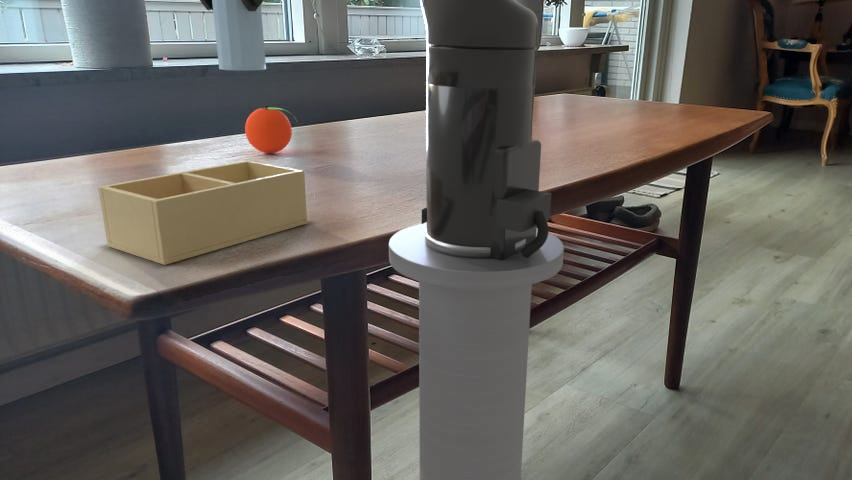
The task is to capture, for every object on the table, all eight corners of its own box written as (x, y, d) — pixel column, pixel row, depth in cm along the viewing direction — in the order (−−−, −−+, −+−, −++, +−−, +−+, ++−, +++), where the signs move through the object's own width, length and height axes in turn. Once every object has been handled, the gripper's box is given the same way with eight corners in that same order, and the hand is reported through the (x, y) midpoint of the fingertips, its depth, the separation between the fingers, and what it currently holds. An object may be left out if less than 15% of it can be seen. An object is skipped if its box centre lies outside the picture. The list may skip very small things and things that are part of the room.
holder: (307, 223, 71) (304, 170, 69) (164, 265, 58) (155, 201, 56) (252, 210, 75) (248, 160, 73) (107, 246, 62) (97, 186, 60)
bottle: (275, 69, 85) (265, -61, 80) (238, 70, 80) (225, -67, 76) (246, 67, 87) (235, -59, 83) (209, 68, 83) (195, -64, 78)
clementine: (294, 147, 112) (291, 102, 109) (304, 155, 106) (302, 108, 103) (243, 150, 108) (239, 104, 106) (251, 158, 102) (246, 109, 100)
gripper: (221, -118, 86) (158, -21, 79) (318, -125, 81) (258, -22, 74) (254, -66, 92) (198, 28, 86) (345, -69, 87) (292, 31, 81)
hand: (226, 4), depth 80 cm, fingers closed on bottle, 5 cm apart
